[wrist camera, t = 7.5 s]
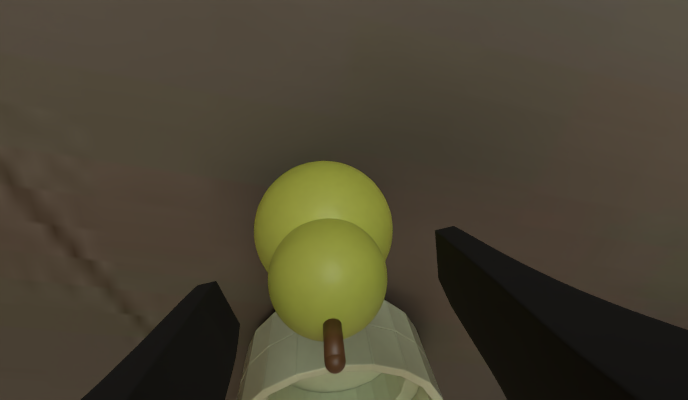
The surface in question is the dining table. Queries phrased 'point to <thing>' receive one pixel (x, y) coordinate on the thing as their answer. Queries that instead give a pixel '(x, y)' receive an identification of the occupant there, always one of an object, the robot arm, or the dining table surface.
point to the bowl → (360, 369)
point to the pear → (325, 252)
